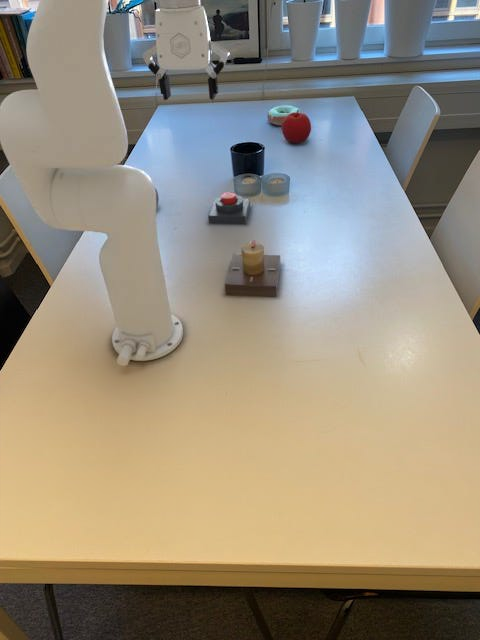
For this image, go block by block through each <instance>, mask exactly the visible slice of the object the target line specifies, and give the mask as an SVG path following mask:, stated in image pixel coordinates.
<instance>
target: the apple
mask: <svg viewBox="0 0 480 640" xmlns="http://www.w3.org/2000/svg"><path fill="white" fill-rule="evenodd" d="M299 110H300V109H299ZM299 110H297V113H290V114H289V115H287V116H286V117H285V119H284V120H283V123H282V126H281V134H282V135H283V138H284V139H285V140H286V141H287V142H288V143H292V144H301V143H304V142H305V141H307V139H308V138H309V137H310V135H311V131H312V123H311V120H310V118H309V117H308V115H307V114H305V113H303V112H301V113H298V111H299Z"/></svg>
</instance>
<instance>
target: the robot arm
mask: <svg viewBox="0 0 480 640" xmlns="http://www.w3.org/2000/svg"><path fill="white" fill-rule="evenodd" d="M109 1H110V0H39V2H38V5H37V7H36V11H35V13H34V16H33V18H32V21H31V24H30V26H29V30H28V34H27V37H26V38H27V39H26V48H25V51H26V52H25V53H26V59H27V64H28V68H29V70H30V72H31V74H32V77H33V79H34V82H35V85H36V88H37V89H21V90H17V91H14V92H12V93H10V94H8V95H7V96H6V97H5V98H4V99H3V100H2V102H1V103H0V145H1V148H2V152H3V153H4V155H5V157H6V160H7V161H8V164H9V165H10V167H11V170H12V171H13V173H14V175H15V176H16V178H17V180H18V182H19V184H20V186H21V188H22V189H23V191H24V194H25V195H26V197H27V199H28V201H29V203H30V204H31V206H32V208H33V210H34V211H35V213H36V215H37V216H38V218H39V219H40V220H41V221H42V222H43V223H44V224H45V225H46V226H48V227H50V228H52V229H55V230H61V231H74V232H92V233H101V234H105V235H106V236H107V238H106V240H105V241H104V242H103V244H102V246H101V248H100V251H99V254H98V262H99V267H100V271H101V273H102V277H103V281H104V286H105V288H106V291H107V295H108V298H109V303H110V306H111V309H112V313H113V316H114V320H115V325H116V327H115V328H114V329H113V332H112V335H111V343H112V347H113V349H114V350H115V352H116V353H117V354H118V356H117V359H116V363H117V364H118V365H120V366H123V367H125V366H128V365H129V363H130V360H131V361H135V362H147V361H152V360H156V359H159V358H162V357H164V356H166V355H168V354H170V353H171V352H173V351H174V350H175V349H176V348H177V347H179V345H180V344H181V342H182V339H183V337H184V327H183V324H182V321H181V320H180V319H179V318H178V317H177V316H176V315H174V314H172V311H171V307H170V306H171V305H170V300H169V295H168V290H167V289H168V288H167V284H166V279H165V278H166V277H165V272H164V267H163V262H162V257H161V252H160V251H161V250H160V245H159V239H158V237H159V236H158V229H157V227H158V226H157V208H156V191H155V188H156V186H155V184H154V183H155V182H154V180H153V179H152V177H151V176H150V175H149V174H148V173H146V172H145V171H144V170H142V169H140V168H137V167H134V166H132V165H131V166H130V165H125V164H121V162H122V161H123V160H124V159H125V157H126V156H127V154H128V149H129V139H128V133H127V128H126V123H125V119H124V116H123V113H122V110H121V107H120V102H119V99H118V96H117V91H116V89H115V86H114V85H115V84H114V82H113V79H112V76H111V72H110V68H109V65H108V61H107V57H106V51H105V41H104V40H105V39H104V32H105V22H106V17H107V12H108V7H109V3H110V2H109ZM150 1H151V2H152V3H157V6H158V7H159V8H157V9H155V13H154V14H155V15H154V26H155V27H154V29H155V30H154V31H155V45H153V46H152V47H151V48H149V49H147V50H145V52H144V53H142V55H141V57H142V59H143V61H144V62H145V64H146V65H147V68H148V69H149V70H150V72H151V73H152V74H153V75H155V78H156V79H158V83H159V90H160V95H162V97H163V100H164V101H167V100H169V98H170V97H171V96H172V93H171V86H170V77H169V76H168V74H167V72H168V70H169V71H181V70H183V71H186V70H187V71H189V70H204V71H205V72H206V73H207V75H208V79H207V84H208V95H209V99H210V100H212V101H213V100H214V99H215V98H216V96H217V95H218V94H219V84H218V83H219V82H218V75H219V74H220V72H221V71H222V70H223V69H224V68H225V66H226V63H227V61H228V58H229V56H230V51H229V50H228V49H226V48H225V47H222V46H221V45H219V44H217V43H216V42H213V41H211V36H210V29H209V24H208V23H209V22H208V19H207V18H208V17H207V13H206V11H205V7H204V6H203V5H201V0H150ZM213 53H214V54H216V55H218V56H219V61H218V63H217V64H216V65H215V64H214V63H213V61H212V60H213ZM155 55H156V56H157V57H156V58H157V63H156V62H155V61H154V59H153V56H155Z"/></svg>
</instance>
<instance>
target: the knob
mask: <svg viewBox="0 0 480 640" xmlns="http://www.w3.org/2000/svg"><path fill="white" fill-rule="evenodd" d="M240 249H241V254H242V267H243V272H244V273H246V274H248V275H258V274H261V273H262V272H263V271H264V255H265V246H264V245H263V244H262V243H260V242H257V241H256V240H252V241H250V242H249V241H248V242H246V243H244V244H243V245H242V246H241V248H240Z"/></svg>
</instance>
